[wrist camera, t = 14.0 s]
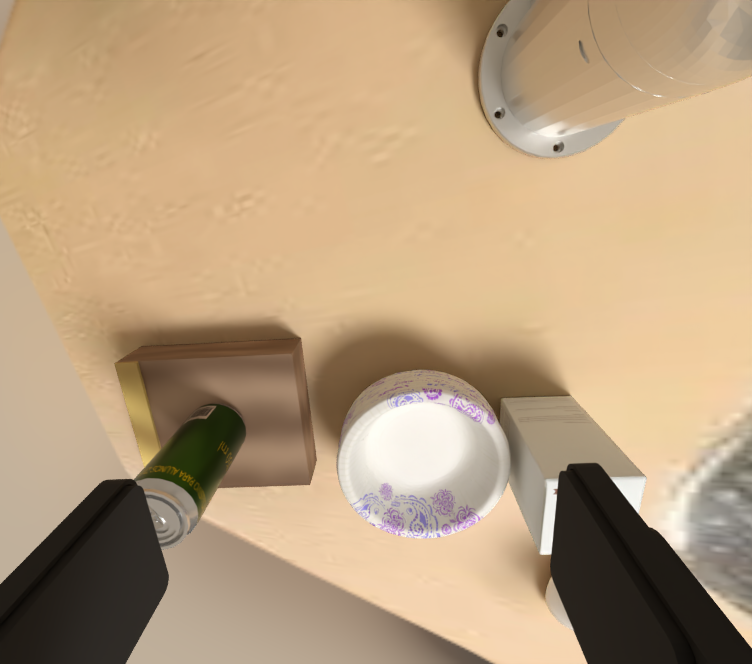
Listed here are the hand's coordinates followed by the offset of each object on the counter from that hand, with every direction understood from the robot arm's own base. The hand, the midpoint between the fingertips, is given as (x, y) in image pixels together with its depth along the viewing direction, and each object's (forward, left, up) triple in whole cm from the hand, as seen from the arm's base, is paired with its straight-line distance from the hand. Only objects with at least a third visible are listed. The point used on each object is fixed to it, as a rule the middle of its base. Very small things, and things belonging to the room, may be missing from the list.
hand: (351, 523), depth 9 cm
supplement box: (+17, +15, -31) cm, 38 cm away
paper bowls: (+16, +3, -31) cm, 35 cm away
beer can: (+13, -16, -26) cm, 33 cm away
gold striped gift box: (+13, -16, -30) cm, 37 cm away
